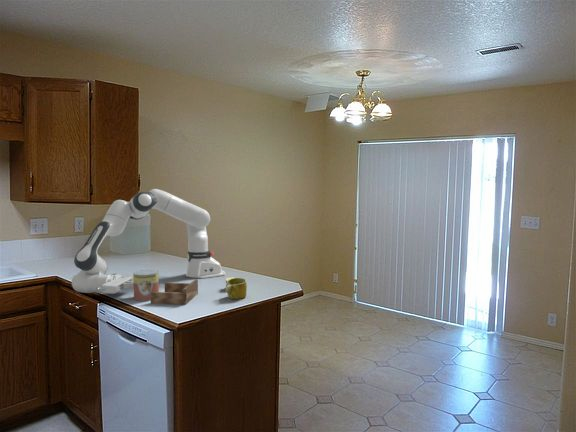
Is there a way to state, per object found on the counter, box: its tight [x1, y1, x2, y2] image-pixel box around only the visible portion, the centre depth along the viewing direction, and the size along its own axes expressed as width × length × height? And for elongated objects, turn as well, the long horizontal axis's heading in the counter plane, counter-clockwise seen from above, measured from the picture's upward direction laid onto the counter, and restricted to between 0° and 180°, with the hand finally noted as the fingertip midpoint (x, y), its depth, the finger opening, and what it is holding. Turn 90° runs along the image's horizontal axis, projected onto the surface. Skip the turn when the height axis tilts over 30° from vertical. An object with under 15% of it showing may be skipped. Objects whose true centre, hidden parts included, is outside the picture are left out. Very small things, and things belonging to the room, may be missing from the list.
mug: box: [225, 277, 248, 300], centre depth 204 cm, size 12×10×10 cm
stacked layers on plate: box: [225, 276, 235, 287], centre depth 219 cm, size 10×9×6 cm
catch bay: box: [150, 278, 199, 305], centre depth 202 cm, size 16×18×7 cm
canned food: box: [132, 269, 160, 302], centre depth 203 cm, size 11×11×12 cm
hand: (134, 284), depth 203 cm, fingers closed, pressing on canned food
